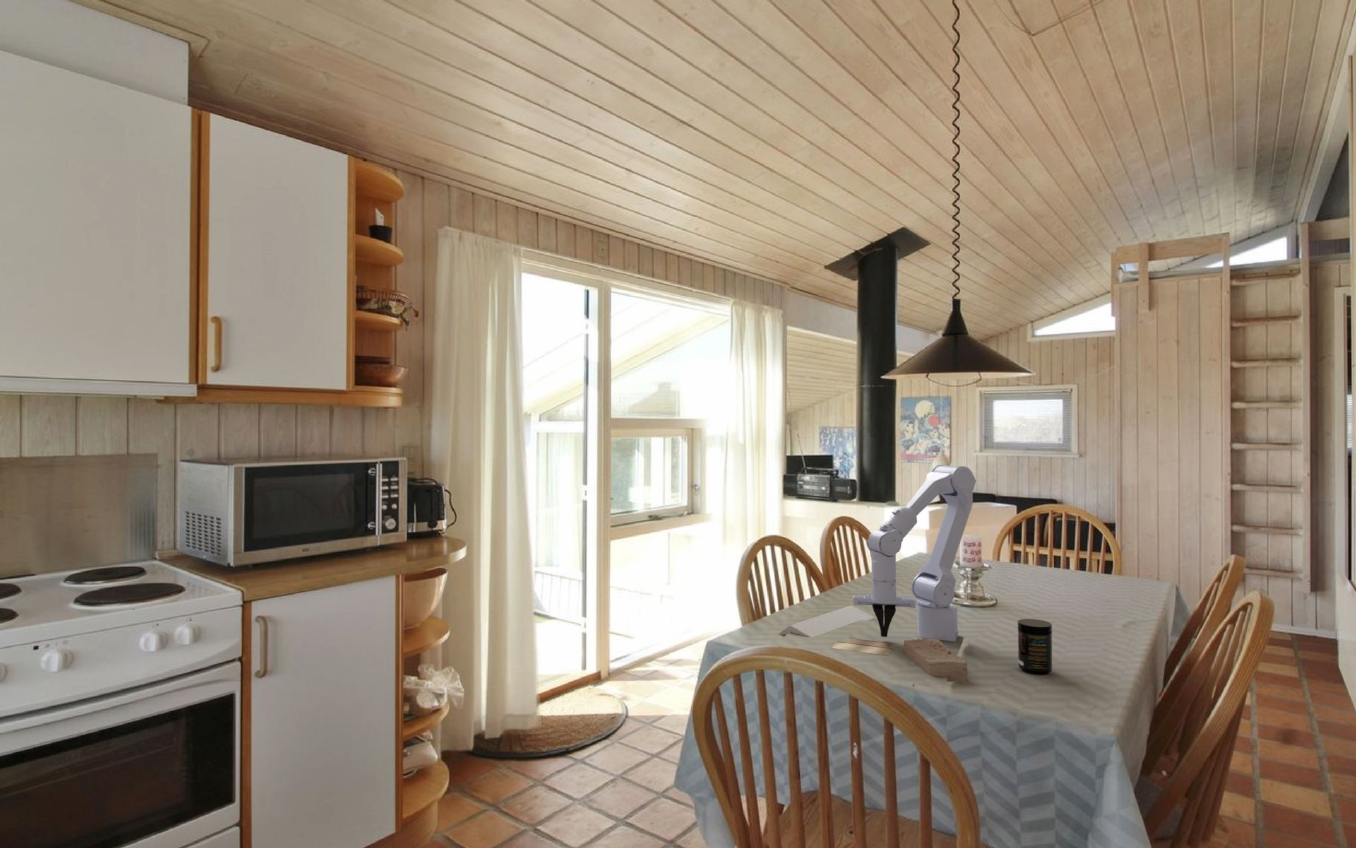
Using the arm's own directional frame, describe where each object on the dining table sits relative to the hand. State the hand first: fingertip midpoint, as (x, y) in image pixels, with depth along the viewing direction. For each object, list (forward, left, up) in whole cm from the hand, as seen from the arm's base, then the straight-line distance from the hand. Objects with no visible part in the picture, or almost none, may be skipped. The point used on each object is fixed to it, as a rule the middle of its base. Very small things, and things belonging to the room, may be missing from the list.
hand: (884, 635), depth 176 cm
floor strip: (+3, +8, -2) cm, 9 cm away
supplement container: (-33, +4, -3) cm, 33 cm away
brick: (-13, +12, -3) cm, 18 cm away
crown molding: (+16, -10, -3) cm, 20 cm away
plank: (+3, +2, -2) cm, 4 cm away
